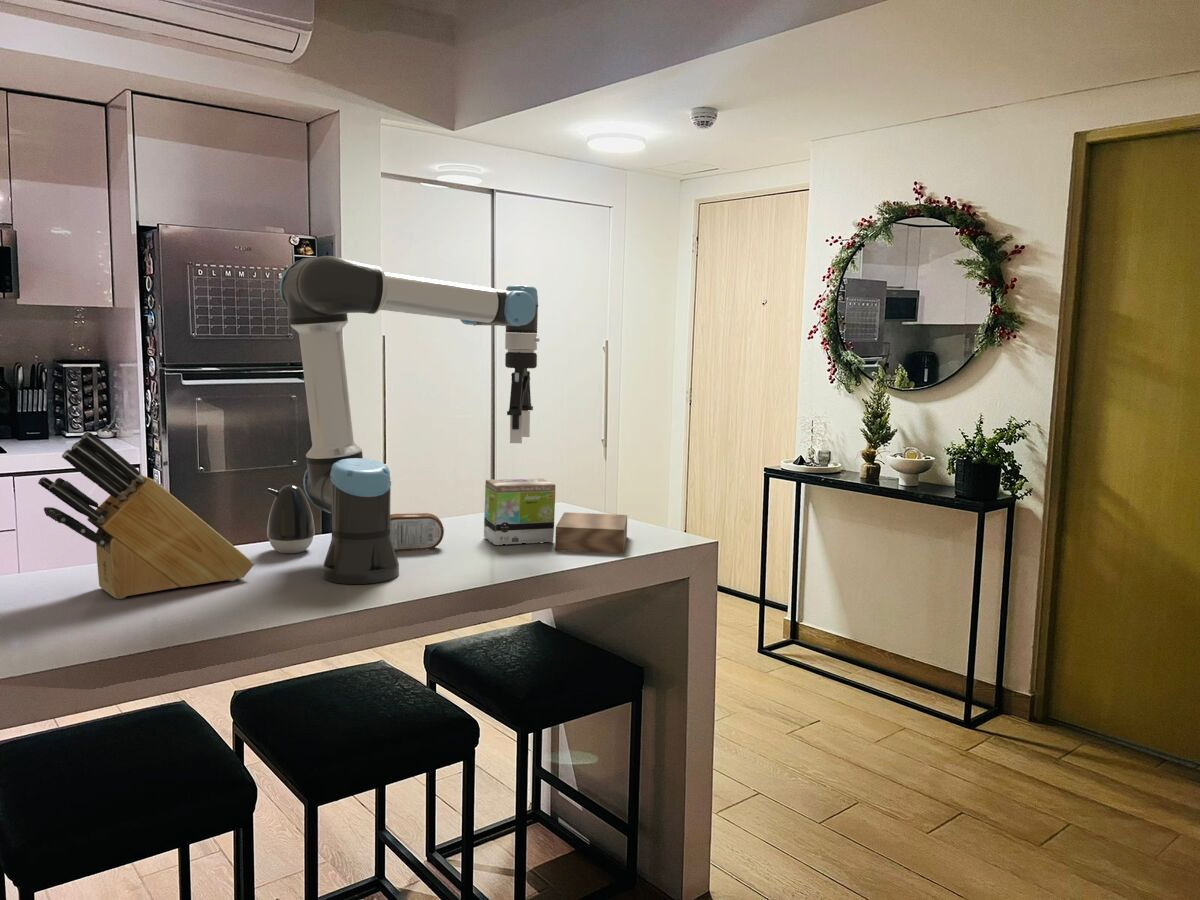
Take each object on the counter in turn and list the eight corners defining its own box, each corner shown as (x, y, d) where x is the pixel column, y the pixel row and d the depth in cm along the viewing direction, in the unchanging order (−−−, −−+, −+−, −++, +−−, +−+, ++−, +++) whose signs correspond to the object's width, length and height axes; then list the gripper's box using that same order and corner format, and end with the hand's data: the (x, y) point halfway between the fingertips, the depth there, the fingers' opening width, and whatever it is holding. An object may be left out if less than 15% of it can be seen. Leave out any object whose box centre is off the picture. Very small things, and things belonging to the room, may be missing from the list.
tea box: (495, 547, 220) (496, 485, 218) (483, 538, 229) (484, 478, 227) (554, 543, 226) (556, 482, 224) (540, 534, 235) (541, 476, 233)
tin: (442, 546, 218) (442, 511, 217) (444, 549, 215) (445, 514, 214) (377, 549, 214) (377, 513, 213) (378, 553, 211) (378, 516, 210)
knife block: (41, 596, 171) (33, 428, 167) (234, 568, 194) (230, 420, 190) (55, 610, 162) (47, 434, 159) (255, 579, 186) (252, 425, 182)
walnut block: (555, 551, 218) (555, 526, 217) (563, 535, 236) (564, 512, 235) (623, 554, 217) (624, 529, 216) (626, 538, 235) (627, 514, 234)
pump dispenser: (273, 545, 215) (271, 480, 213) (319, 546, 216) (318, 481, 214) (261, 556, 205) (259, 488, 203) (309, 556, 206) (308, 488, 204)
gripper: (530, 352, 209) (528, 446, 212) (543, 350, 234) (541, 434, 236) (496, 352, 209) (495, 445, 212) (513, 350, 234) (512, 433, 237)
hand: (520, 440), depth 224 cm, fingers open, 13 cm apart
